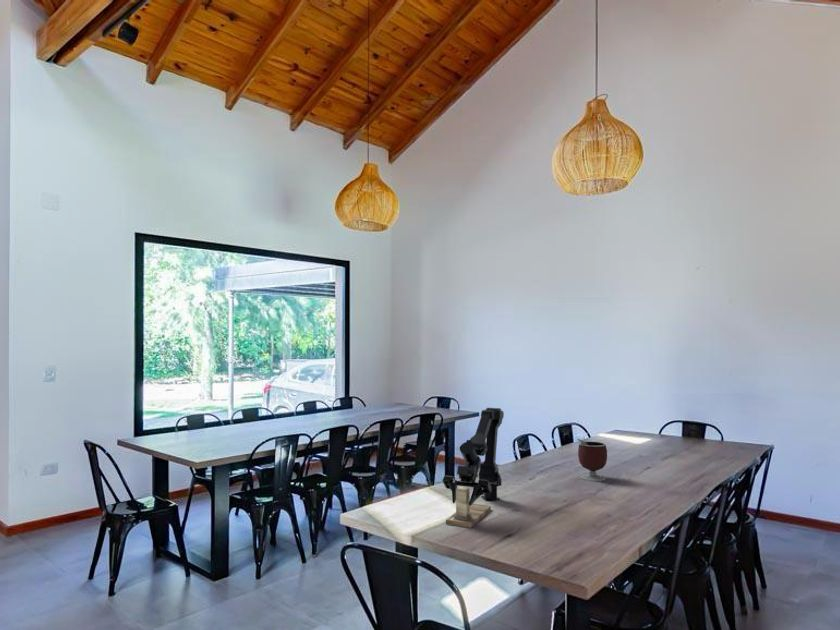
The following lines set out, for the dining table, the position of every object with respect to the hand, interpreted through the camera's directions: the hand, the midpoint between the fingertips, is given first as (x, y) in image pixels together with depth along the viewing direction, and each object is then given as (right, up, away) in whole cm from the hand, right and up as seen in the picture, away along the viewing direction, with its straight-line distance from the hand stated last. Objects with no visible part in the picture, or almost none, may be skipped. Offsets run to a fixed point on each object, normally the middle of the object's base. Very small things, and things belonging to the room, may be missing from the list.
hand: (461, 504), depth 215 cm
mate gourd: (+70, -10, +67) cm, 97 cm away
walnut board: (+4, -7, +7) cm, 11 cm away
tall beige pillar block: (+1, -6, +1) cm, 6 cm away
